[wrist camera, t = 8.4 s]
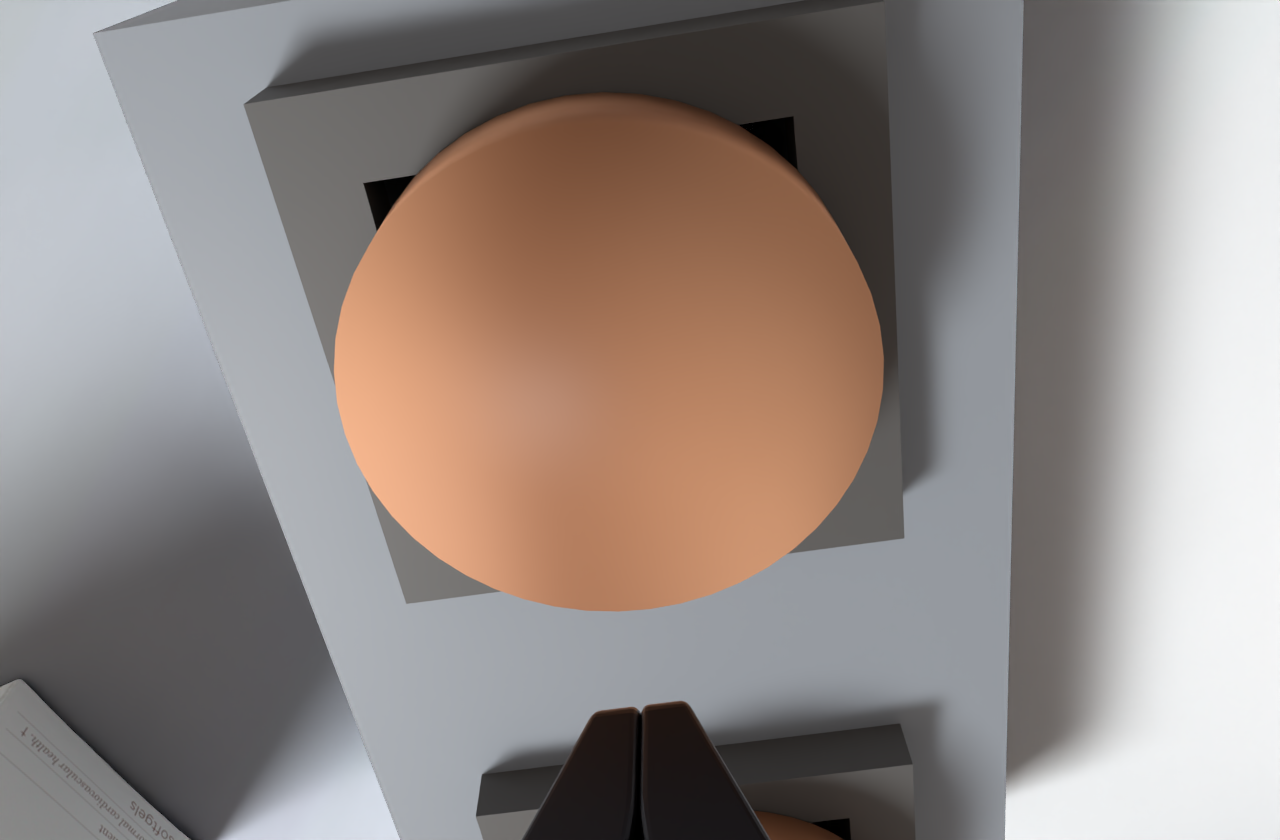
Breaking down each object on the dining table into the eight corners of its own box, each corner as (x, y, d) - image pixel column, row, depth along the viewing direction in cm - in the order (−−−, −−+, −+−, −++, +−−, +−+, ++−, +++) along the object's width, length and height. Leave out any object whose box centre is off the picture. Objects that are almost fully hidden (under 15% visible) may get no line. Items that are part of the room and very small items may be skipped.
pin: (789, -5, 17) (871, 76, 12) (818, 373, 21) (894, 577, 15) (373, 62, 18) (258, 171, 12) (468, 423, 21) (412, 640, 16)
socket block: (924, -135, 18) (1055, -119, 12) (943, 821, 29) (1015, 1044, 23) (219, -17, 18) (56, 47, 13) (503, 872, 29) (477, 1100, 24)
